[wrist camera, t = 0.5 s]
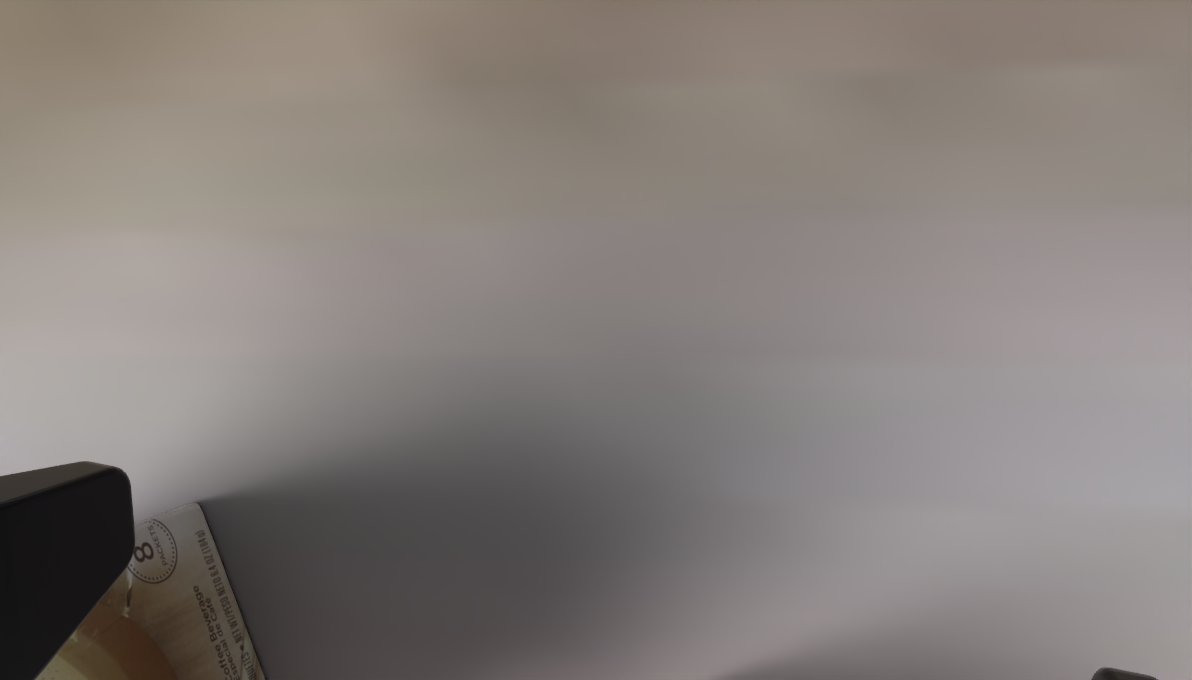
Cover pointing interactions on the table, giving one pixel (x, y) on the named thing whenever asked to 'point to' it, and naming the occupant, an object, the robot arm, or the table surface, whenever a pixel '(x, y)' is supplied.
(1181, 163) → the table surface
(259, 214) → the table surface
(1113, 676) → the robot arm
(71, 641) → the coffee box
